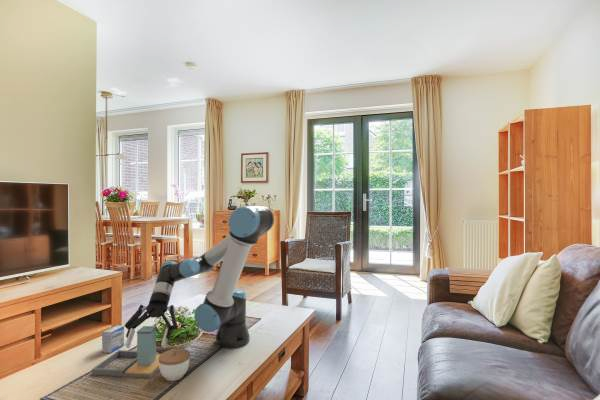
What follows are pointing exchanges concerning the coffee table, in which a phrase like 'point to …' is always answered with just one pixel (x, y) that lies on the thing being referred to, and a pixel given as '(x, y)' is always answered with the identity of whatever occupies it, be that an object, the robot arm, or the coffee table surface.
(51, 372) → the coffee table surface
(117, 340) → the medicine box
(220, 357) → the coffee table surface
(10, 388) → the coffee table surface
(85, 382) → the coffee table surface
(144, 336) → the block
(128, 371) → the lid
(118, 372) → the shallow grey tray
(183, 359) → the lidded jar
